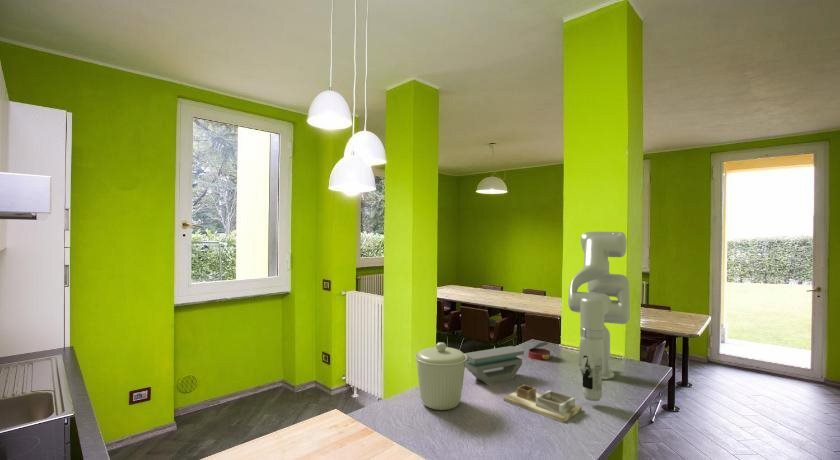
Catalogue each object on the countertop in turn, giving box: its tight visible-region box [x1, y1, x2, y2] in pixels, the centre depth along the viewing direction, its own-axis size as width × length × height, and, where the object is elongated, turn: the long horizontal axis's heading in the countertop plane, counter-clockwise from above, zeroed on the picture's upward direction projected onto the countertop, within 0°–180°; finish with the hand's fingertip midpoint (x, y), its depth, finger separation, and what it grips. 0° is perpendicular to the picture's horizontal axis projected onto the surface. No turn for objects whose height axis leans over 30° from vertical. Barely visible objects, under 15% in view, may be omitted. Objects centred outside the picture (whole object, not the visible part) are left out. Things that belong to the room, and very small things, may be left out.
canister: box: [414, 341, 468, 411], centre depth 137 cm, size 18×18×21 cm
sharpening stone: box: [463, 345, 525, 386], centre depth 161 cm, size 25×8×11 cm, turn 118°
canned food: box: [528, 341, 551, 361], centre depth 190 cm, size 11×10×10 cm
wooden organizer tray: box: [503, 384, 583, 424], centre depth 136 cm, size 13×22×4 cm, turn 43°
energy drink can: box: [582, 358, 603, 402], centre depth 136 cm, size 6×6×15 cm
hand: (592, 384), depth 136 cm, fingers closed on energy drink can, 6 cm apart
